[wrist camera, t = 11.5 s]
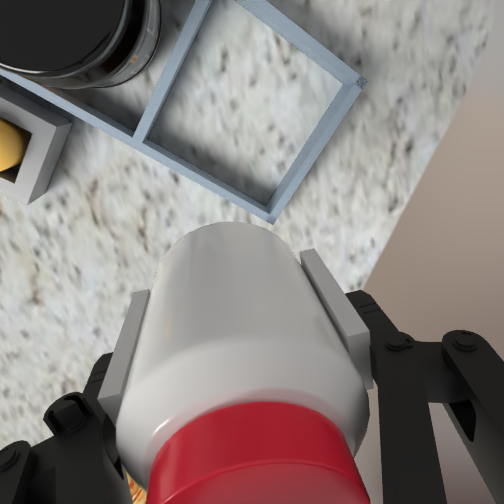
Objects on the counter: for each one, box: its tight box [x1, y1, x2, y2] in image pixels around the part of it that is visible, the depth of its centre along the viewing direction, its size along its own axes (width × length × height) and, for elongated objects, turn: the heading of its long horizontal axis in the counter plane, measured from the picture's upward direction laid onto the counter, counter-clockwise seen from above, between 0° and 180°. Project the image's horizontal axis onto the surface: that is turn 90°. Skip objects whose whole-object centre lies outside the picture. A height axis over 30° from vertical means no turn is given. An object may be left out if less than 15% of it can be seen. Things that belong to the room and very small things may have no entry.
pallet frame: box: [0, 0, 367, 225], centre depth 27 cm, size 27×14×2 cm, turn 58°
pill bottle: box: [116, 222, 370, 504], centre depth 13 cm, size 8×8×11 cm
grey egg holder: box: [0, 83, 73, 205], centre depth 27 cm, size 7×7×4 cm
